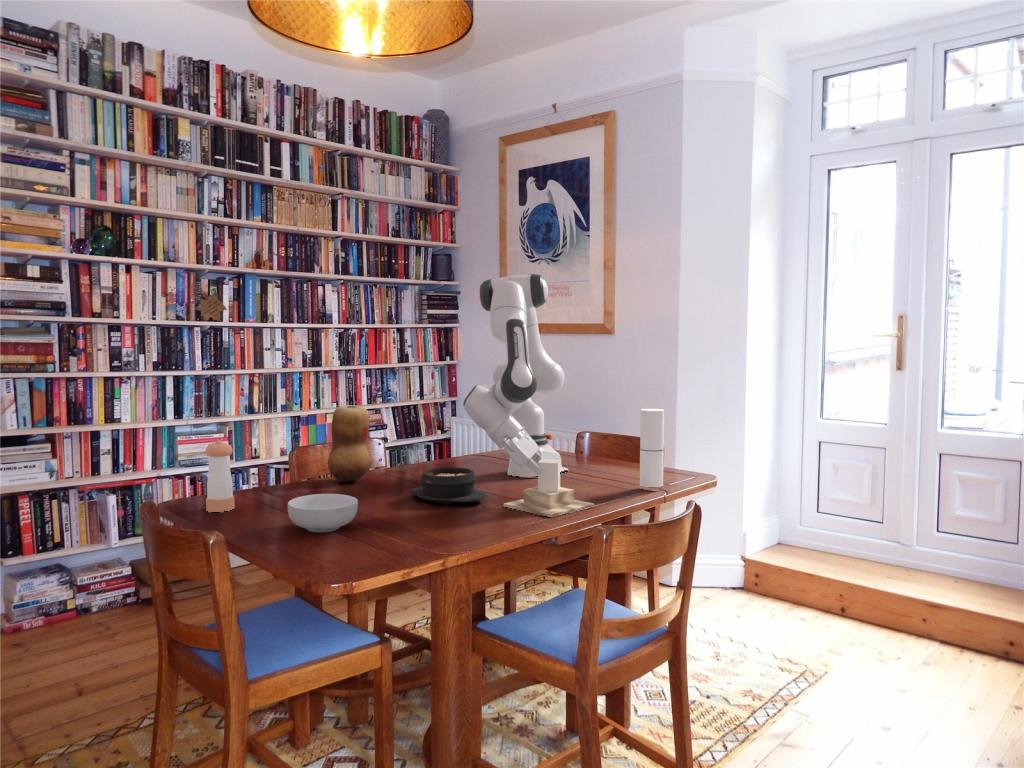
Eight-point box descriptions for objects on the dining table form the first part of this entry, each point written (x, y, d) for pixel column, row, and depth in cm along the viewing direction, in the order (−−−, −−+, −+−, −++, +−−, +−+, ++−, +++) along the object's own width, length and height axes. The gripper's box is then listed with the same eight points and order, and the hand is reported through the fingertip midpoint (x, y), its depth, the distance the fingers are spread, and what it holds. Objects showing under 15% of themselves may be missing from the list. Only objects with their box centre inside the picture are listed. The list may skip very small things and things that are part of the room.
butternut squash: (361, 486, 236) (360, 408, 234) (321, 484, 238) (320, 407, 237) (376, 478, 250) (375, 404, 248) (338, 476, 252) (337, 403, 250)
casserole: (395, 499, 219) (395, 471, 218) (440, 489, 233) (439, 462, 232) (457, 512, 203) (457, 481, 202) (501, 500, 217) (501, 472, 217)
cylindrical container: (637, 490, 231) (638, 410, 230) (642, 486, 238) (643, 408, 236) (660, 492, 229) (661, 411, 227) (664, 487, 235) (666, 409, 234)
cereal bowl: (292, 540, 175) (292, 511, 174) (284, 524, 190) (283, 496, 189) (364, 533, 181) (364, 504, 181) (350, 517, 197) (350, 491, 196)
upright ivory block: (540, 487, 212) (540, 459, 211) (560, 487, 211) (560, 459, 210) (537, 491, 206) (537, 462, 206) (557, 491, 205) (558, 463, 205)
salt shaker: (221, 513, 200) (220, 443, 199) (200, 511, 203) (198, 441, 201) (240, 507, 207) (238, 439, 206) (219, 505, 209) (217, 438, 208)
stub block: (546, 497, 221) (547, 468, 221) (594, 507, 209) (594, 477, 208) (503, 507, 209) (503, 477, 208) (551, 518, 196) (551, 486, 195)
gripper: (509, 431, 199) (545, 468, 198) (521, 422, 219) (554, 456, 218) (493, 447, 200) (528, 484, 199) (506, 436, 220) (539, 470, 219)
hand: (542, 469), depth 208 cm, fingers open, 8 cm apart
